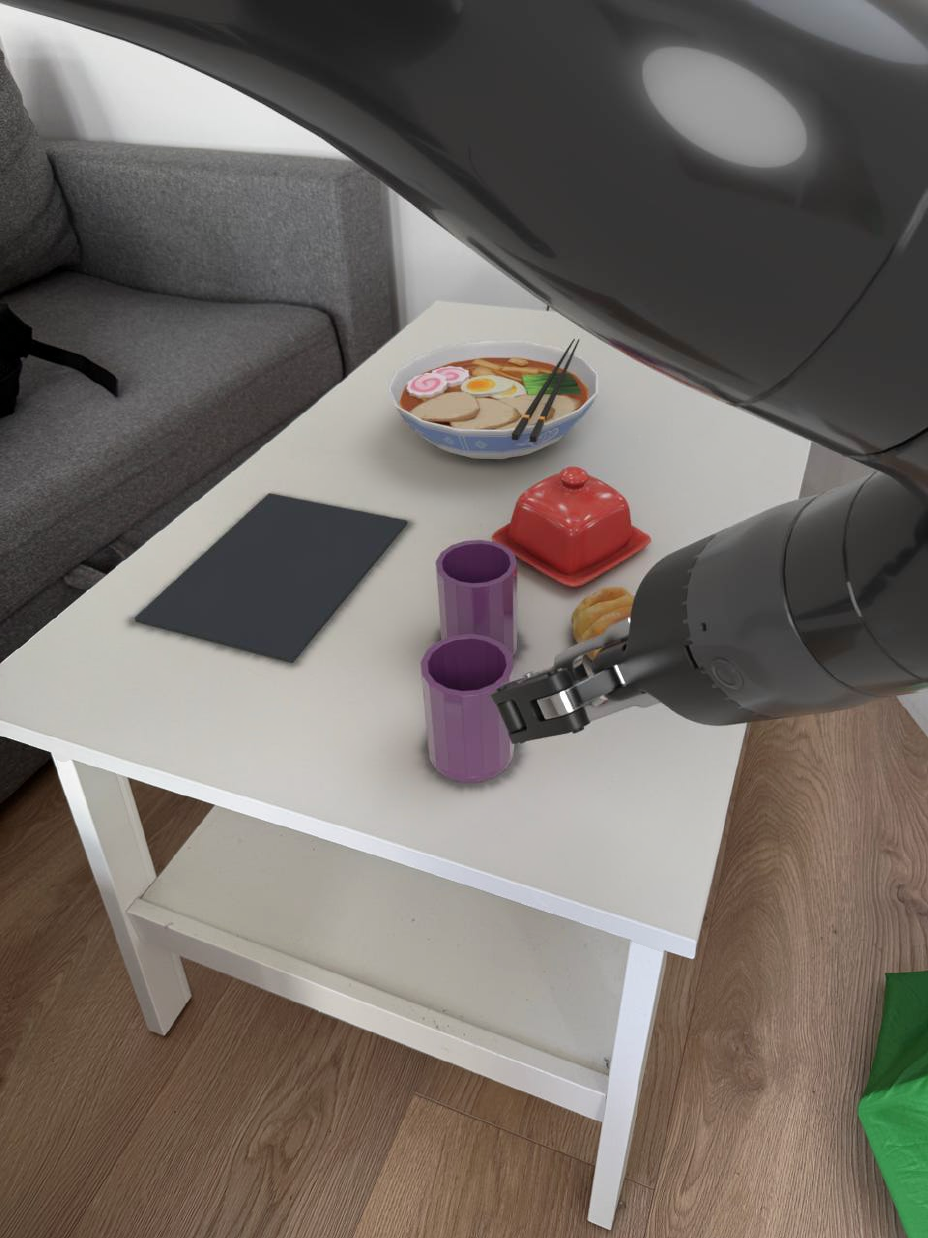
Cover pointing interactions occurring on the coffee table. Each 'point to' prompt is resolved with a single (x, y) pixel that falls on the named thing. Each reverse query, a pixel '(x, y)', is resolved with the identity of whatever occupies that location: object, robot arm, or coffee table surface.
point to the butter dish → (572, 528)
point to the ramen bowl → (494, 396)
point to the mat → (274, 576)
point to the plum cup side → (478, 591)
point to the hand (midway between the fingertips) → (576, 673)
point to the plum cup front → (466, 706)
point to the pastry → (600, 613)
